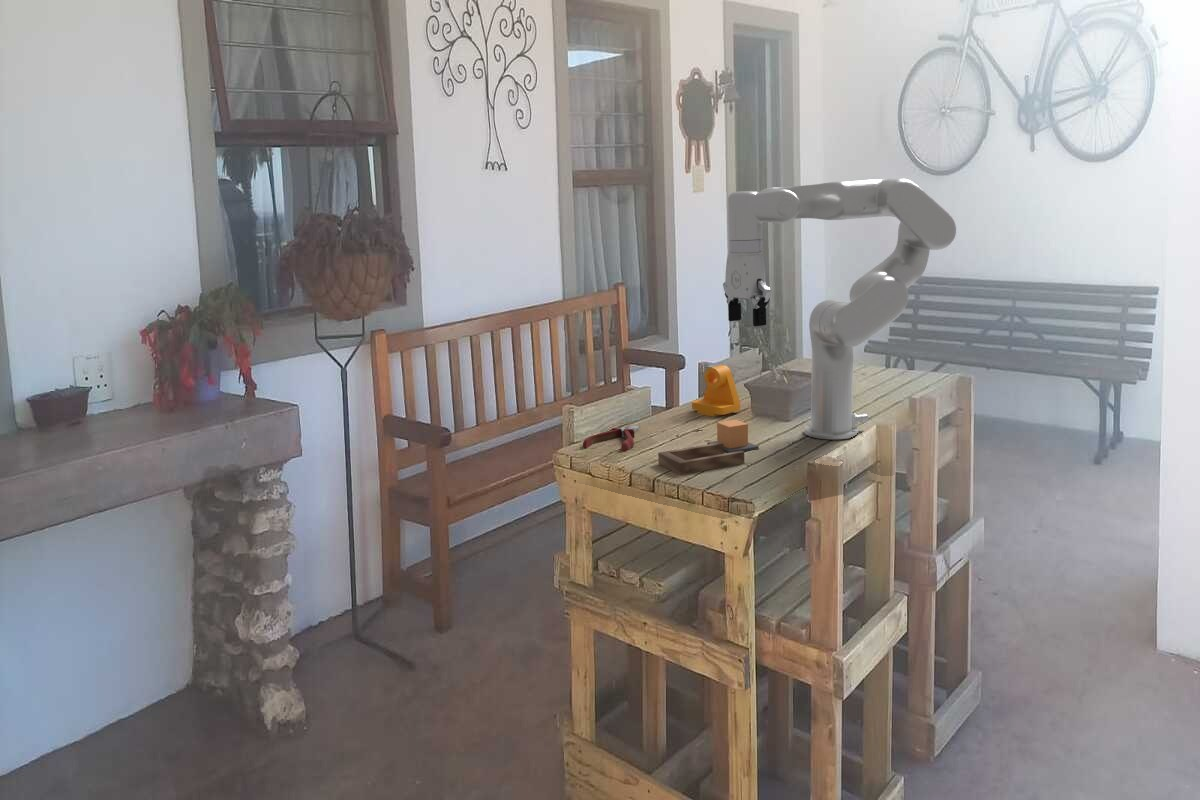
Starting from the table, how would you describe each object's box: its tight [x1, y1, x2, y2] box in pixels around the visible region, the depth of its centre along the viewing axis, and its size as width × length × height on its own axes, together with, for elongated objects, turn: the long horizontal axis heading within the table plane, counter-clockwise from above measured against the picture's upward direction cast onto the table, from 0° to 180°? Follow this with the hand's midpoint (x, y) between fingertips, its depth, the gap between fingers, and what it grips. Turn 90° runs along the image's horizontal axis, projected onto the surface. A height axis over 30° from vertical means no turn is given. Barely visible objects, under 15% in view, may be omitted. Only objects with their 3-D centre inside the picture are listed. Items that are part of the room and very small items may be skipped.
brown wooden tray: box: [657, 442, 745, 475], centre depth 225 cm, size 16×9×2 cm, turn 116°
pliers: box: [582, 424, 641, 452], centre depth 247 cm, size 12×20×3 cm, turn 157°
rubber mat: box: [706, 440, 759, 454], centre depth 237 cm, size 8×9×1 cm
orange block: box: [716, 419, 749, 449], centre depth 237 cm, size 5×5×5 cm
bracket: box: [691, 364, 741, 417], centre depth 269 cm, size 11×7×12 cm, turn 43°
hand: (747, 323), depth 237 cm, fingers open, 9 cm apart
